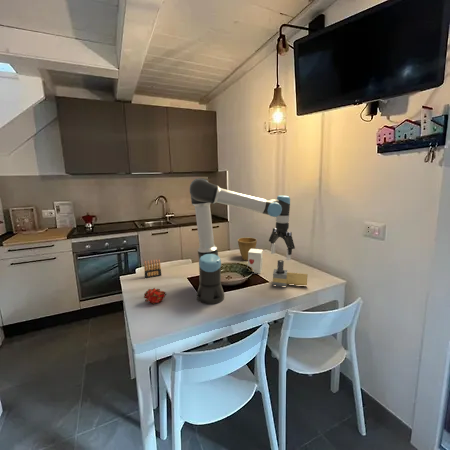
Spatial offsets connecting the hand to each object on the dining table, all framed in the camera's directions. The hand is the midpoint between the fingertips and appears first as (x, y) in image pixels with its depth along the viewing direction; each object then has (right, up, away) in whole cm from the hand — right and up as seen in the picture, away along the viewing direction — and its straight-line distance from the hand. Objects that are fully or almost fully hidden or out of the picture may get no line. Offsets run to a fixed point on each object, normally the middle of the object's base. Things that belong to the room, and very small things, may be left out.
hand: (280, 256), depth 162 cm
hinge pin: (0, -17, +4) cm, 18 cm away
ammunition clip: (-81, -15, +15) cm, 84 cm away
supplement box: (-13, -13, +25) cm, 31 cm away
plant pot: (-16, -8, +50) cm, 54 cm away
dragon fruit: (-71, -22, -19) cm, 76 cm away
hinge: (+8, -17, +8) cm, 20 cm away
